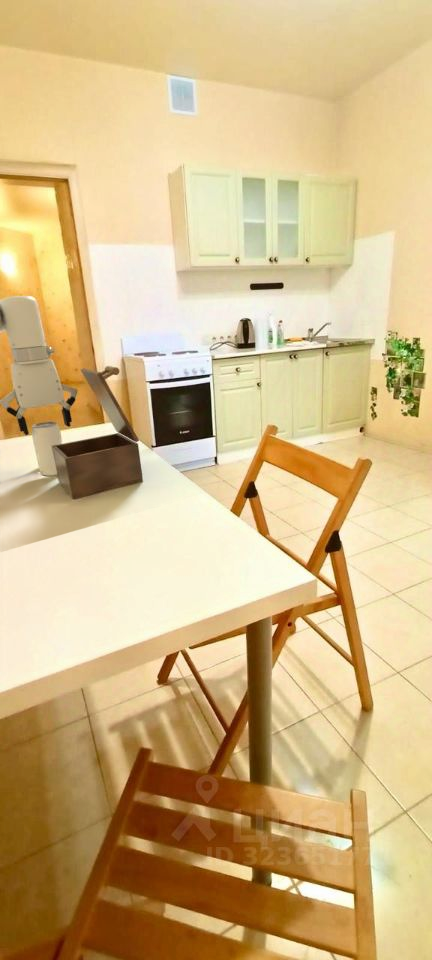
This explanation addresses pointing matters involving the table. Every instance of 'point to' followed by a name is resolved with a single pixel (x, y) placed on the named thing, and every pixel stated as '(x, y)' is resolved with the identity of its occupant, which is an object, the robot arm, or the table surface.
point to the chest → (97, 464)
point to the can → (46, 446)
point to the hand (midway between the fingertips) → (47, 429)
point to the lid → (109, 400)
